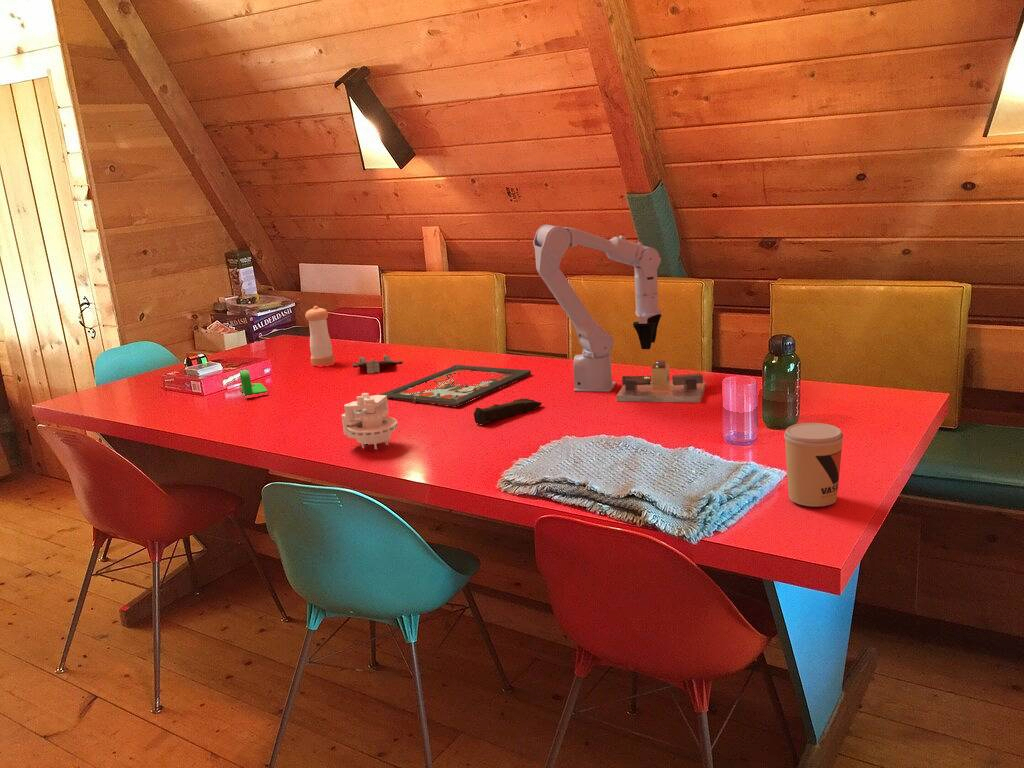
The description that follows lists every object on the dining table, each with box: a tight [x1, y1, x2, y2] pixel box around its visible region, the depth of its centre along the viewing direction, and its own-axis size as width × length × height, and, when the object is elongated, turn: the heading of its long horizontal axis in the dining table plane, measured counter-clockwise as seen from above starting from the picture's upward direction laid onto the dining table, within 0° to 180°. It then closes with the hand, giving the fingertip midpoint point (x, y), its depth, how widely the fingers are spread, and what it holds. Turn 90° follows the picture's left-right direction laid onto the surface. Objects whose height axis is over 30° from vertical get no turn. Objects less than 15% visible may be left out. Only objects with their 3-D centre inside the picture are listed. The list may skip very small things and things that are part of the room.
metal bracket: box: [352, 354, 403, 374], centre depth 267 cm, size 14×6×15 cm
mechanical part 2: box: [341, 392, 399, 450], centre depth 194 cm, size 11×12×12 cm
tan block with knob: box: [651, 359, 671, 390], centre depth 217 cm, size 4×4×7 cm
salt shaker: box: [304, 305, 336, 366], centre depth 275 cm, size 7×7×19 cm
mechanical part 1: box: [239, 369, 268, 396], centre depth 249 cm, size 12×6×8 cm, turn 24°
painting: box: [378, 364, 532, 407], centre depth 240 cm, size 28×35×2 cm
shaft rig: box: [615, 372, 707, 404], centre depth 218 cm, size 20×14×5 cm
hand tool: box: [473, 398, 543, 426], centre depth 210 cm, size 19×4×5 cm
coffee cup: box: [783, 422, 844, 508], centre depth 149 cm, size 9×9×12 cm
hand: (648, 345), depth 229 cm, fingers open, 7 cm apart
